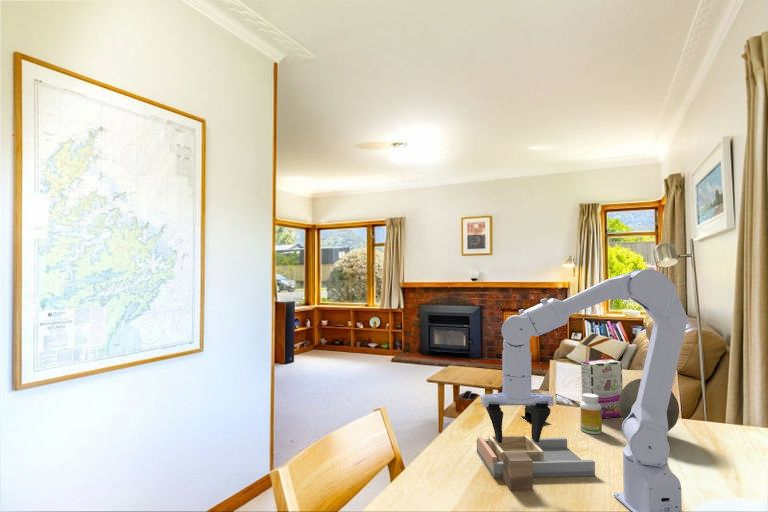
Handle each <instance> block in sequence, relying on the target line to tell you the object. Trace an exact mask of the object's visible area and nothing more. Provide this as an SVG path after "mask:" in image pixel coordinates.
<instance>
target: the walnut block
mask: <svg viewBox="0 0 768 512" xmlns="http://www.w3.org/2000/svg"><path fill="white" fill-rule="evenodd" d="M502 479H503V480H502V481H503V482H504V483H505V485H506V487H507V488H508V489H509V491H510V492H533V490H534V482H533V481H534V477H533V460H532V459H531V458H530V457H529V456H528V455H527V454H526V453H525V452H524V451H511V452H503V478H502Z"/></svg>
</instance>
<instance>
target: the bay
mask: <svg viewBox="0 0 768 512" xmlns="http://www.w3.org/2000/svg"><path fill="white" fill-rule="evenodd" d="M529 438H530V437H529ZM530 439H531V440H532V441H533V442H534V443H535V444H536V445H537V446H538V447H539V448H540V449H541V450H542V451H543V452H544V461H533V478H560V477H561V478H563V477H564V478H565V477H567V478H568V477H570V478H571V477H595V476H596V461H595V460H594V459H581V457H579V455H577V454H576V453H574V452H573V451H572V450H571V449H570V448H568V438H566V437H540V439H539V442H535V441H534V440H533V439H532V437H531V438H530ZM476 453H477V455H478V456H479V458H480V459H481V461H482V462H483V464H484V465H485V467H486V469H487V470H488V472H489V473H490V474H491V476H492V478H493V479H503V462H497V457H496V455H495V454H494V453H493V451H492V450H491V448H490V447H489V446H488V438H484V437H483V436H477V438H476Z"/></svg>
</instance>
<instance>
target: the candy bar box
mask: <svg viewBox="0 0 768 512" xmlns="http://www.w3.org/2000/svg"><path fill="white" fill-rule="evenodd" d="M622 364H623V362H622V361H619V360H616V359H611V358H610V359H597V360H586V361H581V362H580V369H581V370H580V372H581V376H580V377H581V396H582V397H581V398H582V399H581V402H583V401H584V400H583V394H585V393H590V394H595V395H598V397H599V400H598V403H599V404H600V405H601V408H602V420H603V419H611V418H612V419H613V418H622V417H621V414H620V411H619V397H620V394H621V392H622V390H623V369H622V368H623V365H622Z"/></svg>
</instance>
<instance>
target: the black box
mask: <svg viewBox="0 0 768 512" xmlns="http://www.w3.org/2000/svg"><path fill="white" fill-rule="evenodd" d="M524 406H525V407H524V415H525V416H522V415H520V416H521V417H522V418H523V419H525V420H526V421H527V422H526V421H525V422H526V423H528V422H529V423H528V424H530V425H532V419H531V410H530V405H524ZM544 426H552V423H550V422H548V421H547V420H546V421H545V424H544ZM544 426H543V427H544Z"/></svg>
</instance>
